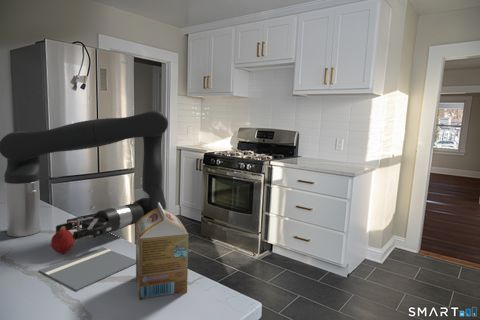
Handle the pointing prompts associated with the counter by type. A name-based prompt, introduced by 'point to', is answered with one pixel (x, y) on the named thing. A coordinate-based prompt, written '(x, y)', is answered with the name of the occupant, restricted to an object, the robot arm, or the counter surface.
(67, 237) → the onion
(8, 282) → the counter surface
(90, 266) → the mat
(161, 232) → the milk carton
